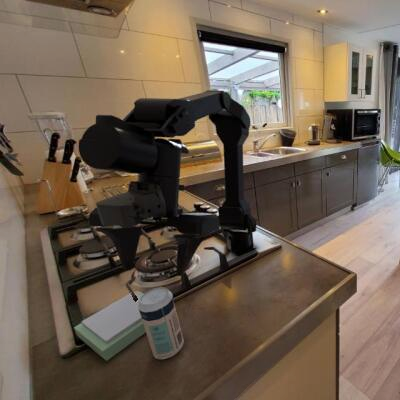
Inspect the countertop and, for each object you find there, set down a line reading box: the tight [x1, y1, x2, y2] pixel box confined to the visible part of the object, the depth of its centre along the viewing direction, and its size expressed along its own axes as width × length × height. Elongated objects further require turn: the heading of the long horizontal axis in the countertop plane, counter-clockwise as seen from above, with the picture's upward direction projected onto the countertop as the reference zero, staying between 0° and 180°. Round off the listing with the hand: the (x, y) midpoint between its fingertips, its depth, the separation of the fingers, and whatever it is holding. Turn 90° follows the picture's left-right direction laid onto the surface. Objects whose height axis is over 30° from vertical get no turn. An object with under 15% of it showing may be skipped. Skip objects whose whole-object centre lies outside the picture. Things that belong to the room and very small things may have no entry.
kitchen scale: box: [73, 290, 147, 362], centre depth 49 cm, size 11×10×3 cm
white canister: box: [138, 286, 185, 360], centre depth 43 cm, size 5×5×12 cm
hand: (153, 272), depth 41 cm, fingers open, 9 cm apart
